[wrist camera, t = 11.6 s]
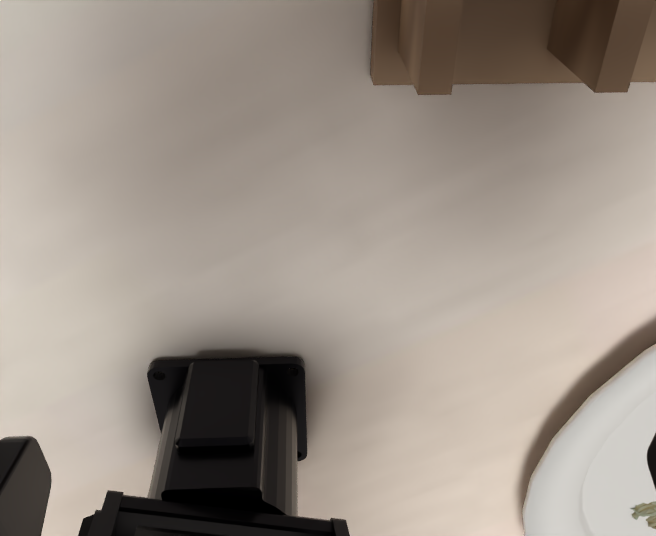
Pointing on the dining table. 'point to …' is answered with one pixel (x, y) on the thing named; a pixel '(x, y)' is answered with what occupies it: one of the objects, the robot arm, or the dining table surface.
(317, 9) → the dining table surface
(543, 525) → the plated food
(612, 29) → the dish rack
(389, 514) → the dining table surface
